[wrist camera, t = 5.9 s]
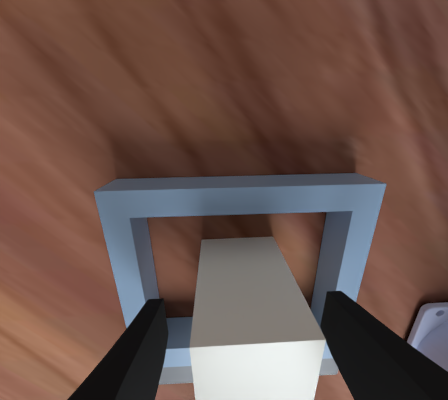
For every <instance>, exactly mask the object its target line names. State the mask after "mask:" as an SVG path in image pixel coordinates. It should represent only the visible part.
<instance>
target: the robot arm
mask: <svg viewBox="0 0 448 400" xmlns="http://www.w3.org/2000/svg"><path fill="white" fill-rule="evenodd" d="M320 327H321V330H322V333H323V335H324V337H325V339H326V343H327V345H328V348H329V350H330V353H331V355H332V357H333V359H334V361H335V363H336V365H337V367H338V369H339V371H340V373H341V375H342V377H343V379H344V381H345V382H346V384H347V386H348V388H349V390H350V392H351V394H352V396H353V398H354V400H448V302H445V303H427V304H425V305H423V306H422V307H421V308H420V310H419V313H418V315H417V318H416V320H415V323H414V325H413V328H412V330H411V332H410V335H409V337H408V340H407V342H406V341H405V340H403V339H402V338H401V337H399V336H398V335H397V334H395V333H394V332H393V331H392V330H390V329H389V328H388V327H386V326H385V325H384V324H383V323H381V322H380V321H379V320H377V319H376V318H375V317H374V316H372V315H371V314H370V313H369V312H367V311H366V310H365V309H364V308H362V307H361V306H360V305H359V304H357V303H356V302H355V301H354V300H352V299H351V298H350V297H348V296H347V295H346V294H345V293H343V292H342V291H327V293H326V299H325V304H324V309H323V314H322V319H321V324H320ZM168 334H169V333H168V326H167V319H166V313H165V306H164V299H163V298H162V299H148V300H147V301H146V303H145V304H144V306H143V307H142V308H141V310H140V311H139V312H138V314H137V315H136V317H135V318H134V319H133V321H132V322H131V323H130V325H129V326H128V327H127V329H126V330H125V331H124V333H123V334H122V335H121V337H120V338H119V339H118V340H117V342H116V343H115V344H114V345H113V347H112V348H111V349H110V351H109V352H108V353H107V354H106V356H105V357H104V358H103V359H102V360H101V361H100V363H99V364H98V365H97V366H96V367H95V369H94V370H93V371H92V372H91V373H90V375H89V376H88V377H87V378H86V379H85V380H84V382H83V383H82V384H81V385H80V386H79V387H78V388H77V389H76V391H75V392H74V393H73V394H72V395H71V396H70V397H69V398H68V399H67V400H155V396H156V393H157V389H158V385H159V381H160V377H161V373H162V369H163V365H164V360H165V354H166V348H167V341H168Z"/></svg>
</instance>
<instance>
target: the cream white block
mask: <svg viewBox="0 0 448 400" xmlns="http://www.w3.org/2000/svg"><path fill="white" fill-rule="evenodd" d="M325 342H326V339H325V337H324V335H323V333H322V331H321V329H320V327H319V325H318V323H317V321H316V319H315V317H314V315H313V313H312V312H311V310H310V308H309V306H308V304H307V302H306V300H305V298H304V296H303V294H302V292H301V290H300V288H299V286H298V284H297V282H296V280H295V278H294V276H293V274H292V272H291V271H290V269H289V267H288V265H287V263H286V261H285V259H284V257H283V255H282V253H281V251H280V249H279V247H278V245H277V243H276V241H275V239H274V237H251V238H227V239H204V240H202V241H201V250H200V259H199V267H198V276H197V285H196V294H195V303H194V311H193V320H192V329H191V338H190V347H189V349H190V357H191V366H192V374H193V383H194V391H195V400H314V397H315V392H316V387H317V382H318V377H319V372H320V367H321V362H322V357H323V352H324V347H325Z"/></svg>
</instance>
